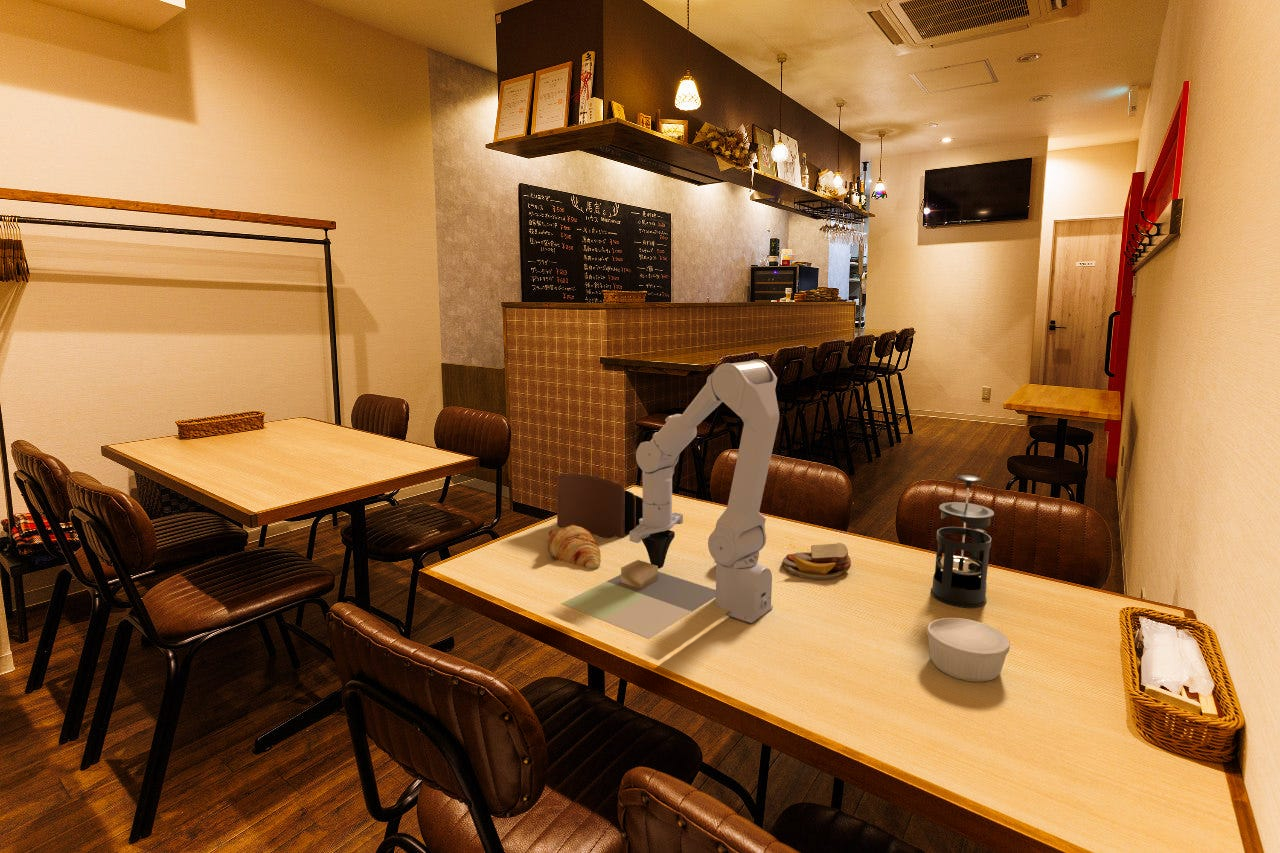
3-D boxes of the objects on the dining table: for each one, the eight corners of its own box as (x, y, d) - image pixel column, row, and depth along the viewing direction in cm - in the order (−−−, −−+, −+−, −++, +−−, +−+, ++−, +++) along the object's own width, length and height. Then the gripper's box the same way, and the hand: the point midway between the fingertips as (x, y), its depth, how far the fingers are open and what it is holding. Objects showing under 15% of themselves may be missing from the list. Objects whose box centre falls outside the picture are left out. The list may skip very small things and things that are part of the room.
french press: (966, 614, 118) (978, 487, 113) (918, 594, 125) (927, 475, 121) (1001, 596, 124) (1014, 476, 120) (953, 579, 132) (963, 466, 127)
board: (722, 597, 125) (722, 592, 124) (649, 644, 108) (649, 638, 108) (639, 570, 137) (639, 565, 137) (561, 608, 120) (561, 603, 120)
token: (657, 580, 129) (657, 566, 129) (641, 589, 126) (641, 574, 125) (637, 574, 133) (637, 559, 132) (621, 582, 129) (621, 567, 128)
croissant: (609, 586, 138) (625, 550, 138) (570, 575, 132) (587, 537, 132) (562, 552, 155) (576, 520, 155) (526, 540, 149) (540, 507, 150)
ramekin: (936, 639, 109) (939, 609, 108) (1013, 663, 102) (1017, 631, 101) (914, 669, 101) (917, 636, 100) (996, 696, 94) (1000, 662, 93)
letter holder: (623, 543, 153) (622, 483, 150) (556, 526, 163) (554, 470, 161) (647, 530, 161) (647, 473, 158) (582, 515, 171) (581, 462, 169)
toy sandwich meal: (786, 554, 146) (787, 533, 145) (851, 562, 141) (853, 541, 140) (777, 576, 134) (778, 554, 133) (848, 586, 130) (849, 563, 129)
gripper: (663, 488, 138) (663, 551, 141) (617, 505, 127) (617, 573, 130) (691, 495, 134) (690, 559, 137) (646, 513, 123) (646, 582, 126)
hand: (657, 566), depth 133 cm, fingers closed
